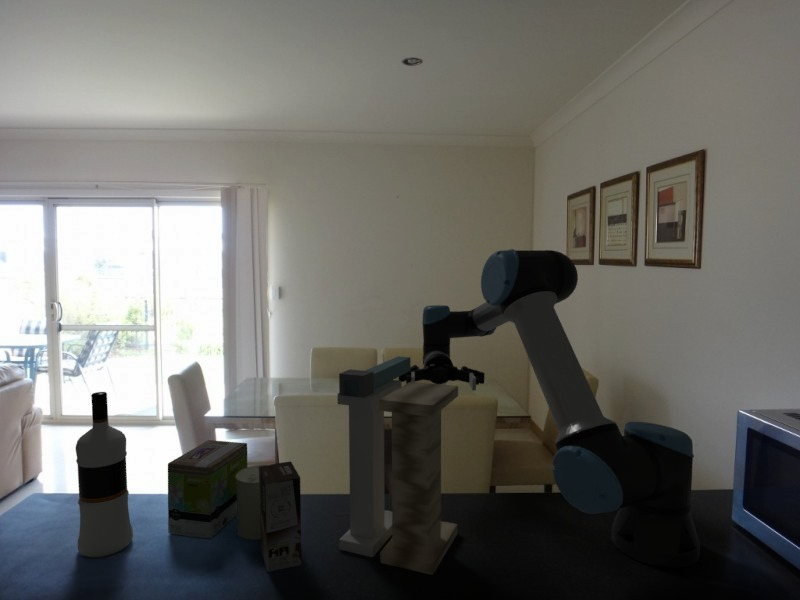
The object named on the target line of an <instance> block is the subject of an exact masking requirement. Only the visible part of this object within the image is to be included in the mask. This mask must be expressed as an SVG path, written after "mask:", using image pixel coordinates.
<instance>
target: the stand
mask: <svg viewBox="0 0 800 600" xmlns="http://www.w3.org/2000/svg"><path fill="white" fill-rule="evenodd" d="M400 387H402V382H401V381H399V379H398V380H396V379H393V380H391V381H390V382H388V383H386V384H384V385H382V386H380V387H378V388H376V389H374V393H372V394H370V395H369V396H367V397H365V398H360V397H351V396H342V395H339V392H338V393H337V394H336V395H337V405H341V406H342V405H343V406H348V439H349V440H348V447H349V449H348V450H349V451H348V453H349V455H348V456H349V457H348V458H349V459H348V460H349V529H348V530H347V531H346V532H345V533H344V534H343V535H342V536H341V537H340V538H339V539H338V540H339V542H338V543H339V546H338V547H339V550H340V551H343V552H349V553H353V554H356V555H361V556H365V557H368V558H369V557H370V558H374V557H375V556H376V554H377V553H378V552H380V550H381V549H382V547H383V546H384V545H385V544H386V542H387V541H388V540H390V539H391V537H392V510H386V508H385V411H379V400H380V399H381V398H383V397H385V396H387V395H388V394H390V393H392V392H393V391H395V390H397V389H399V388H400Z"/></svg>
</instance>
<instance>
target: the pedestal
mask: <svg viewBox="0 0 800 600" xmlns="http://www.w3.org/2000/svg"><path fill="white" fill-rule="evenodd" d="M458 397H459V385H451V384H435V383H432V382H431V383H428V382H420V381H415V382H409V383H407V384H406V383H405V384H404V385H401V387H400V388H399V389H397V390H395V391H393V392H392V393H390V394H388V395H387V396H385V397H383V398H381V399H380V400H379V411H384V412H385V413H386V412H387V413H391V495H392V496H391V501H392V502H391V509H392V510H391V511H392V535H391V538H390V539H389V541H388V542H387V543H386V545H385V546H384V547H383V549H382V548H381V550H380V551H379V553H380V554H379V555H380V557H379V558H380V560H379V561H380V563H381V564H384V565H389V566H393V567H397V568H401V569H405V570H409V571H414V572H417V573H422V574H426V575H431V576H433V575H434V574H435V573H436V571H437V569H438V567H439V566H440V564H441V562H442V560H443V559H444V557H445V555H446V554H447V552H448V550H449V549H450V547H451V545H452V544H453V543H454V540H456V537H457V536H458V524H457V523H453V522H447V521H443V520H442V410H443V409H444V408H446V407H447V406H448V405H449V404H450V403H452V402H453V401H454V400H455V399H457V398H458Z"/></svg>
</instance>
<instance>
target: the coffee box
mask: <svg viewBox="0 0 800 600" xmlns="http://www.w3.org/2000/svg"><path fill="white" fill-rule="evenodd" d="M266 465H267V466H260V467H259V500H260V530H261V539H260V549H261V550H260V551H261V554H262V557H263V561H264V566H265V570H266V571H267V573H270V572H273V571H274V572H275V571H278V570H279V571H280V570H284V569H288V568H292V567H298V566H301V565H302V520H301V519H302V514H301V513H302V512H301V510H302V509H301V508H302V505H301V502H302V501H301V500H302V499H301V477H300V474H299V472H298V471H297V469H296V468H295V466H294V465H293V462H292V461H285V462H283V461H282V462H279V463H278V462H277V463H273V464H266Z"/></svg>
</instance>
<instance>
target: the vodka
mask: <svg viewBox="0 0 800 600" xmlns="http://www.w3.org/2000/svg"><path fill="white" fill-rule="evenodd" d="M90 396H91V412H92V413H91V414H92V415H91V416H92V417H91V419H92V427H91V428H90V429H89V430H88V431H86V432H85V433H84V434H82V435H81V436H80V437H79V438H78V439H77V442H76V444H75V453H76V455H75V456H76V459H75V460H76V465H77V479H78V483H77V484H78V501H77V502H78V503H77V504H78V505H79V533H78V538H77V551H78V552H79V554H80V555H81V556H84V557H87V558H95V559H96V558H103V557H108V556H111V555H114V554H116V553H117V554H118V553H119V552H121V551H123V550H124V549H125V548H126V547H127V546H129V545H130V544H131V542H132V540H133V539H134V533H133V532H134V531H133V526H132V524H131V519H130V511H129V503H128V502H129V493H130V492H129V490H128V480H127V479H128V478H127V477H128V475H127V454H128V452H127V438H126V434H124V433H123V432H122V431H121V430H119V429H117V428H115V427H112V426H110V423H109V412H108V411H109V410H108V409H109V407H108V393H107V392H106V391H97V392H94V393H92V394H90Z"/></svg>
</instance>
